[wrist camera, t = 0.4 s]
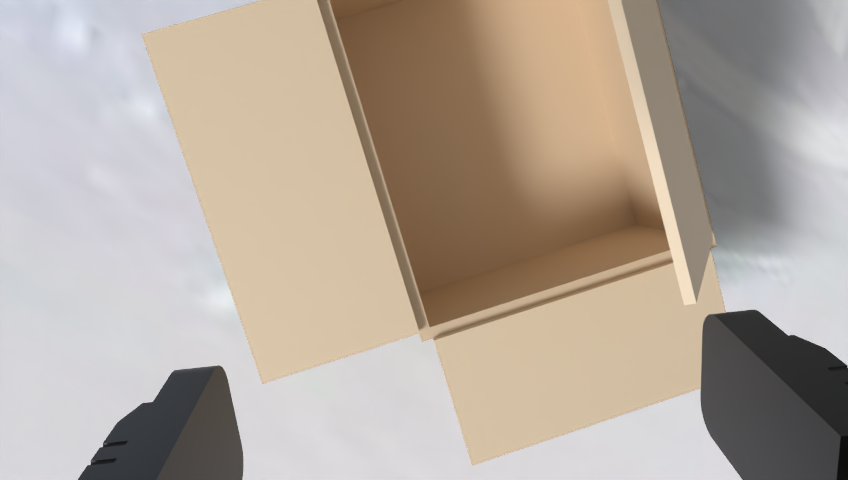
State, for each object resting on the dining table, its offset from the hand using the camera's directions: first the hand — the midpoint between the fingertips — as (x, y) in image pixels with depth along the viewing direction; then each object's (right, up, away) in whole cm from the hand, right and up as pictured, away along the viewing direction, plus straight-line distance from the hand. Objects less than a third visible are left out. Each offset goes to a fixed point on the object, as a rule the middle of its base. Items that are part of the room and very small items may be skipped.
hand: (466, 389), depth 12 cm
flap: (+10, +10, +19) cm, 23 cm away
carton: (-1, +8, +26) cm, 27 cm away
